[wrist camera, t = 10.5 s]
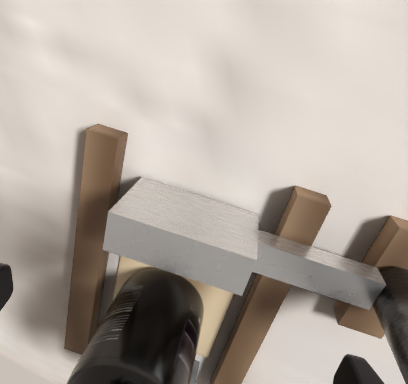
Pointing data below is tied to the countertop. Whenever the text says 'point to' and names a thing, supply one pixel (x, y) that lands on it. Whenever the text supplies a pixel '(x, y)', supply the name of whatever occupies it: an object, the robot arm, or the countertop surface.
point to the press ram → (247, 254)
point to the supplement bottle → (145, 333)
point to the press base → (211, 296)
